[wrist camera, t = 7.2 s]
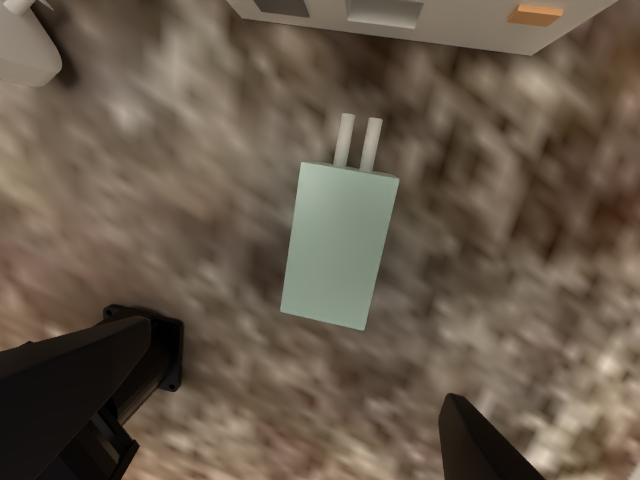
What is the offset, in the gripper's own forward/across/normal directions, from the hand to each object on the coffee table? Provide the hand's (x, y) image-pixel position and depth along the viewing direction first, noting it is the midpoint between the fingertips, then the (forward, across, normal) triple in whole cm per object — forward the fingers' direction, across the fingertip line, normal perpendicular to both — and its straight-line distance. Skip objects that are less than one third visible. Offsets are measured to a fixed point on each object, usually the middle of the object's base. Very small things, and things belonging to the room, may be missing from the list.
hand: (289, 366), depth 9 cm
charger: (+12, 0, -3) cm, 12 cm away
